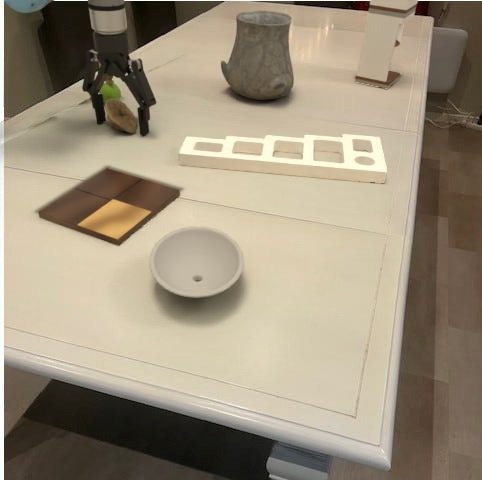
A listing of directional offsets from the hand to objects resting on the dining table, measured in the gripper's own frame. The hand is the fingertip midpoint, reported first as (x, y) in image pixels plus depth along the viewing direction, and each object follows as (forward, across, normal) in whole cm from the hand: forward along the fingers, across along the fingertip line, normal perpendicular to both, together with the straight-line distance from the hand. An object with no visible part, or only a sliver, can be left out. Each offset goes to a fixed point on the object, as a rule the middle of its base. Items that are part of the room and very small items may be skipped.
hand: (122, 128), depth 119 cm
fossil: (0, 0, 0) cm, 0 cm away
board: (0, -20, +30) cm, 36 cm away
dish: (0, -46, +42) cm, 62 cm away
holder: (0, -40, -7) cm, 41 cm away
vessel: (0, -19, -40) cm, 44 cm away
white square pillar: (0, -45, -72) cm, 85 cm away
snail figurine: (0, +13, -12) cm, 18 cm away
